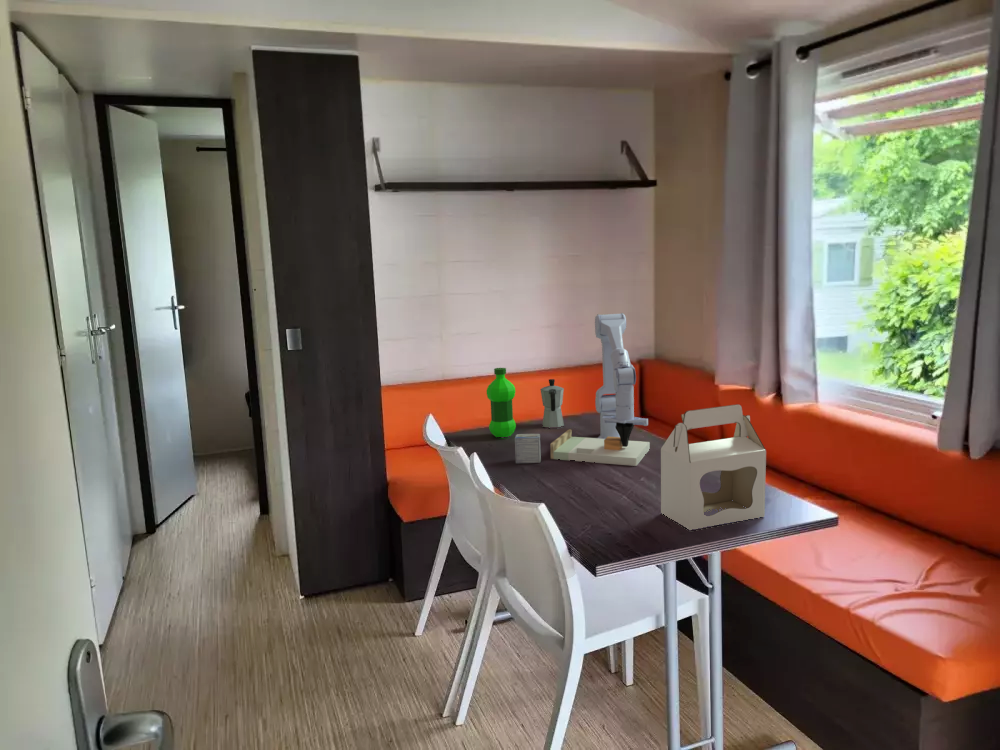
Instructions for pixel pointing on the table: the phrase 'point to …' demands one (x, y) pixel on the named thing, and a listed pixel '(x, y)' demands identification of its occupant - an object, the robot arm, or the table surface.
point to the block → (613, 443)
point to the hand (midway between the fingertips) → (625, 445)
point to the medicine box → (527, 448)
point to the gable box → (730, 455)
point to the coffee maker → (552, 405)
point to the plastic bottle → (501, 405)
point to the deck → (596, 450)
